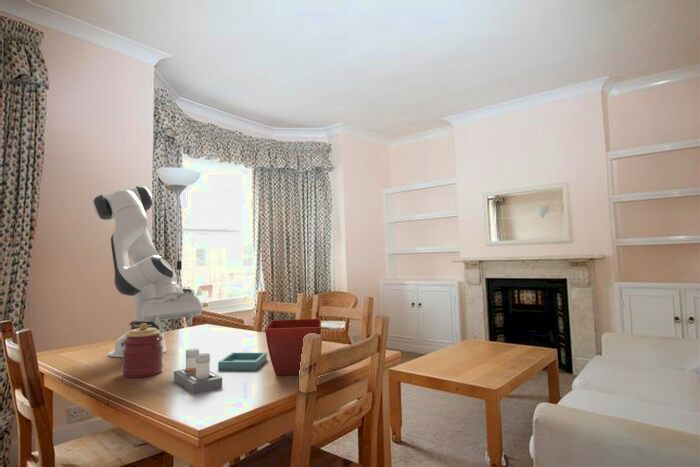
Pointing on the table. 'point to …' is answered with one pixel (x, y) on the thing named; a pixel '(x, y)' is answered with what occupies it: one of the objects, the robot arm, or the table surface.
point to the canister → (142, 352)
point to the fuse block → (194, 385)
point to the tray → (242, 361)
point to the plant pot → (288, 343)
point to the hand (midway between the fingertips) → (176, 326)
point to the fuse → (202, 366)
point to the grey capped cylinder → (191, 360)
